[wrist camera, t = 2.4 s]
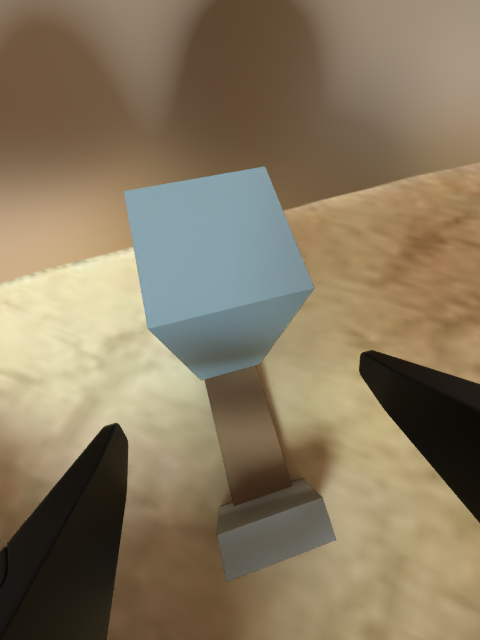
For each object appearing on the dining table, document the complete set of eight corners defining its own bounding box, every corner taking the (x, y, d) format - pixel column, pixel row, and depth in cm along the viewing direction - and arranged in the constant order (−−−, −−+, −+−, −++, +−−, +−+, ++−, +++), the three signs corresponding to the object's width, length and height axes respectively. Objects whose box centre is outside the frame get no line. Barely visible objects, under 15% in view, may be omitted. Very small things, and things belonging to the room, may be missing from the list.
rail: (312, 510, 17) (336, 539, 13) (227, 542, 16) (226, 582, 13) (242, 284, 23) (244, 259, 19) (174, 300, 22) (163, 278, 18)
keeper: (259, 364, 19) (314, 287, 7) (200, 380, 19) (147, 328, 6) (243, 310, 21) (264, 166, 8) (188, 323, 20) (124, 191, 8)
